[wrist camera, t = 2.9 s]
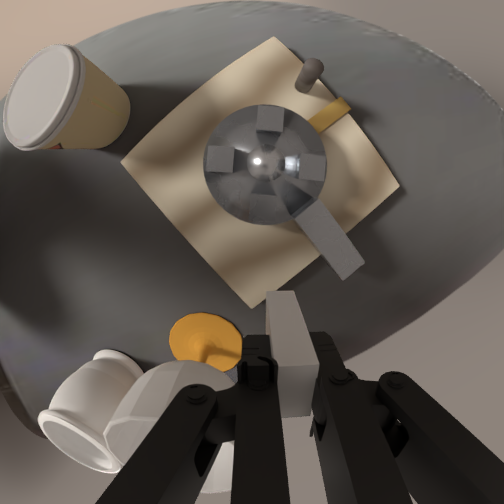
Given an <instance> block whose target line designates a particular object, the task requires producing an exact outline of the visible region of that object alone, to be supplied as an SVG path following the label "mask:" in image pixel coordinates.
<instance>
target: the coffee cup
mask: <svg viewBox="0 0 504 504" xmlns="http://www.w3.org/2000/svg"><path fill="white" fill-rule="evenodd" d="M129 116H130V101H129V98H128V96H127V94H126V93H125V91H124V90H123V89H122V88H121V87H120V86H119V85H117V84H116V83H115V82H114V81H113V80H112V79H111V78H109V77H108V76H107V75H106V74H105V73H104V72H103V71H101V70H100V69H99V68H98V67H97V66H96V65H94V64H93V63H92V62H91V61H89V60H88V59H87V58H86V57H84V56H83V55H82V54H81V52H80V51H79V50H78V49H77V48H76V47H74V46H72V45H69V44H56V45H51V46H48V47H46V48H44V49H42V50H40V51H39V52H37V53H36V54H35V55H34V56H32V58H30V59H29V60H28V61H27V63H26V64H25V65H24V66H23V67H22V68H21V70H20V71H19V73H18V75H17V76H16V77H15V79H14V81H13V83H12V85H11V87H10V89H9V92H8V95H7V98H6V101H5V106H4V112H3V126H4V131H5V134H6V136H7V138H8V140H9V141H10V142H11V143H12V144H13V145H14V146H15V147H16V148H18V149H20V150H23V151H33V150H37V149H98V148H103V147H105V146H107V145H109V144H111V143H112V142H114V141H115V140H116V139H117V138H118V137H119V136H120V135H121V133H122V132H123V130H124V129H125V127H126V125H127V123H128V120H129Z"/></svg>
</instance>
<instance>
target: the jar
mask: <svg viewBox="0 0 504 504" xmlns="http://www.w3.org/2000/svg"><path fill="white" fill-rule="evenodd" d="M143 374H144V373H143V371H142V370H141V368H140V367H139V366H138V365H137V363H136V362H134V361H133V360H132V359H131V358H129V357H128V356H126V355H125V354H123V353H120V352H118V351H115V350H101V351H99V352H97V353H96V354H95V356H94V358H93V361H90V362H88V363H86V364H84V365H83V366H82V367H80V368H79V369H78V370H77V371H76V372H74V373H73V374H72V375H71V376H69V377H68V378H67V379H66V380H65V381H64V382H63V383H62V384H61V386H60V387H59V388H58V390H57V391H56V393H55V395H54V397H53V399H52V401H51V403H50V406H49V409H48V410H43V411H42V412H41V413H40V414H39V416H38V423H39V426H40V428H41V429H42V431H43V432H44V434H45V435H46V436H47V438H48V439H49V440H50V441H51V442H52V443H53V444H54V445H55V446H56V447H57V448H59V449H60V450H61V451H62V452H64V453H65V454H66V455H68V456H69V457H71V458H72V459H74V460H75V461H77V462H79V463H81V464H83V465H85V466H87V467H89V468H92V469H94V470H97V471H100V472H105V473H117V472H119V470H120V468H121V465H122V464H121V463H120V462H119V461H118V460H117V459H116V458H115V457H114V455H113V454H112V453H111V452H110V451H109V450H108V447H107V444H106V441H105V438H104V435H103V432H104V431H105V429H106V427H107V425H108V424H109V422H110V420H111V418H112V417H113V415H114V413H115V411H116V410H117V408H118V406H119V405H120V403H121V401H122V399H123V398H124V397H125V395H126V394H127V393H128V391H129V390H130V389H131V387H132V386H133V385H134V383H135V382H136V381H137V380H138V379H139V378H140V377H141V376H142V375H143Z"/></svg>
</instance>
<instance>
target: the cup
mask: <svg viewBox="0 0 504 504" xmlns="http://www.w3.org/2000/svg"><path fill="white" fill-rule="evenodd" d="M169 344H170V347H171V350H172V352H173V355H174V356H175V357H176V358H177V359H178V360H179V361H171V362H167V363H163V364H161V365H159V366H157V367H155V368H153V369H150V370H148V371H147V372H146V373H145V374H143V375H142V376H141V377H140V378H139V379H138V380H137V381H136V382H135V383H134V385H133V386H132V387H131V389H130V390H129V391H128V393H127V394H126V395H125V397H124V398H123V399H122V401H121V403H120V405H119V406H118V408H117V410H116V411H115V413H114V415H113V417H112V418H111V420H110V422H109V424H108V425H107V427H106V429H105V431H104V432H103V435H104V438H105V441H106V444H107V447H108V450H109V451H110V452H111V453H112V454H113V455H114V457H115V458H116V459H117V460H118V461H119V462H120V463H121V464H122V465H123V466H124V465H125V464H126V462H127V461H128V460H129V458H130V457H131V456H132V454H133V453H134V452H135V450H136V449H137V448H138V446H139V445H140V444H141V442H142V441H143V440H144V438H145V437H146V436H147V434H148V433H149V432H150V430H151V429H152V427H153V426H154V425H155V423H156V422H157V421H158V419H159V418H160V416H161V415H162V414H163V412H164V411H165V410H166V408H167V407H168V405H169V404H170V403H171V401H172V400H173V398H174V397H175V396H176V394H177V393H178V392H179V391H180V390H181V389H182V388H183V387H185V386H188V385H191V384H204V385H207V386H210V387H211V388H212V389H214V390H215V391H220V390H225V389H228V388H230V387H232V386H234V385H235V383H234V382H233V381H232V380H231V379H230V378H229V377H228V376H227V375H226V374H225V373H224V372H225V371H227V370H229V369H231V368H233V367H234V366H235V365H236V364H237V363H238V361H239V360H240V359H241V352H242V337H241V334H240V333H239V332H238V330H237V329H236V328H235V327H234V325H233V324H232V323H230V322H229V321H227V320H225V319H224V318H222V317H220V316H218V315H214V314H209V313H204V312H202V313H195V314H188V315H187V316H185V317H183V318H181V319H180V320H178V321H177V322H176V323H175V325H174V326H173V328H172V330H171V331H170V339H169ZM233 454H234V441H230V442H225V443H222V446H221V448H220V451H219V453H218V455H217V457H216V459H215V462H214V464H213V466H212V468H211V470H210V472H209V474H208V477H207V479H206V481H205V483H204V485H203V487H202V489H201V491H200V493H219V492H226V491H231V487H232V470H233Z"/></svg>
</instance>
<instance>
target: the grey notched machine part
mask: <svg viewBox="0 0 504 504" xmlns="http://www.w3.org/2000/svg"><path fill="white" fill-rule="evenodd" d="M203 171H204V177H205V181H206V184H207V186H208V189H209V191H210V193H211V195H212V196H213V198H214V199H215V200H216V202H217V203H218V204H219V205H220V206H221V207H222V208H223V209H224V210H225V211H226V212H228V213H229V214H230V215H232V216H234V217H235V218H237V219H240V220H242V221H244V222H248V223H251V224H257V225H275V224H280V223H284V222H287V221H290V220H293V221H294V222H295V224H296V225H297V226H298V227H299V229H300V230H301V231H302V232H303V234H304V235H305V236H306V237H307V239H308V240H309V241H310V242H311V244H312V245H313V246H314V247H315V249H316V250H317V251H318V253H319V254H320V255H321V256H322V258H323V259H324V260H325V262H326V263H327V264H328V265H329V266H330V267H331V268H332V270H333V271H334V272H335V273H336V274H337V275H338V276H339V277H340V278H341V280H342V281H344V280H345V279H346V278H347V277H348V276H350V275H351V274H352V273H353V272H354V271H356V270H357V269H358V268H359V267H360V266H361V265H363V264H364V263H365V261H364V260H363V258H362V257H361V256H360V254H359V253H358V251H357V250H356V248H355V247H354V245H353V244H352V243H351V241H350V240H349V238H348V237H347V235H346V234H345V233H344V231H343V230H342V229H341V227H340V226H339V224H338V223H337V222H336V220H335V219H334V218H333V216H332V215H331V214H330V212H329V211H328V210H327V208H326V207H325V206H324V204H323V203H322V202H321V200H320V199H319V198H318V196H319V194H320V193H321V190H322V188H323V186H324V183H325V179H326V173H327V157H326V152H325V148H324V145H323V143H322V140H321V138H320V137H319V135H318V133H317V132H316V130H315V129H314V128H313V126H312V125H311V124H310V123H309V122H308V121H307V120H306V119H304V118H303V117H302V116H300V115H299V114H297V113H295V112H294V111H292V110H289V109H287V108H284V107H281V106H276V105H268V104H260V105H252V106H248V107H245V108H242V109H239V110H237V111H235V112H233V113H232V114H230V115H229V116H227V117H226V118H225V119H224V120H222V121H221V122H220V123H219V124H218V126H217V127H216V128H215V129H214V131H213V132H212V134H211V135H210V137H209V139H208V142H207V144H206V147H205V151H204V157H203Z"/></svg>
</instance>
